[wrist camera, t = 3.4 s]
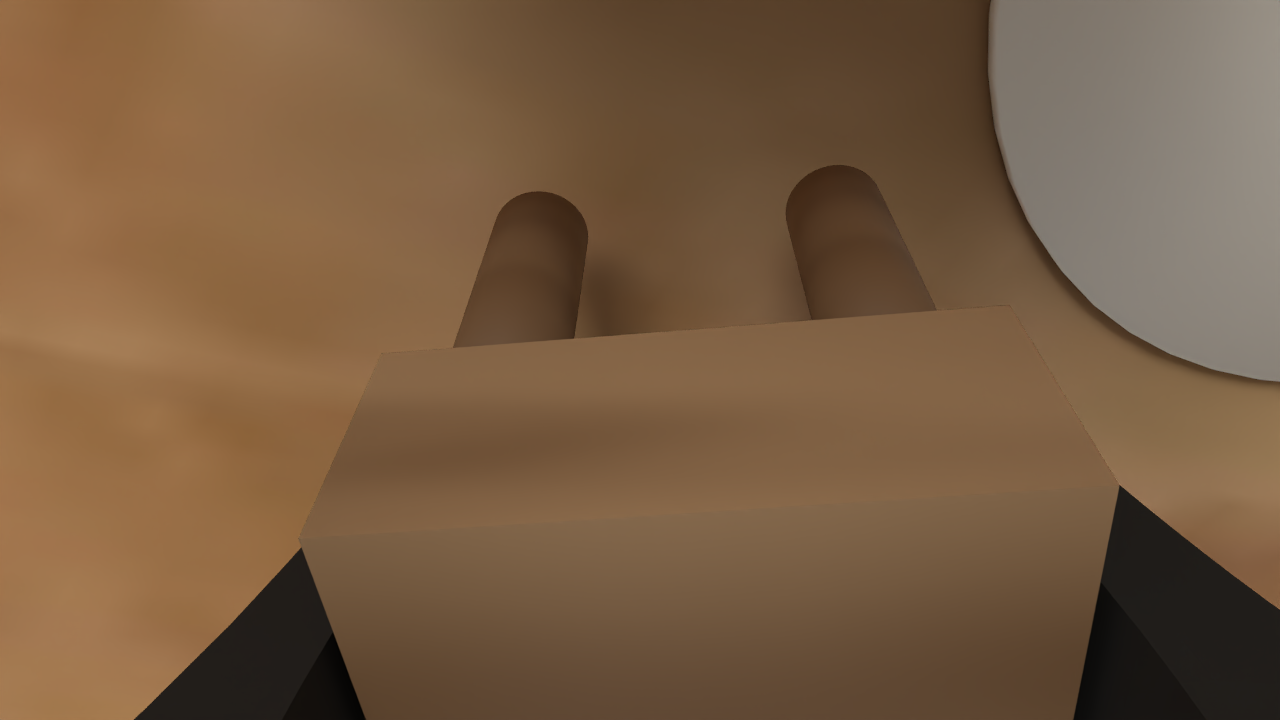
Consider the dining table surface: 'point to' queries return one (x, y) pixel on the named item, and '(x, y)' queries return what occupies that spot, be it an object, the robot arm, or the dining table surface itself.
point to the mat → (1152, 163)
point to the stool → (716, 501)
